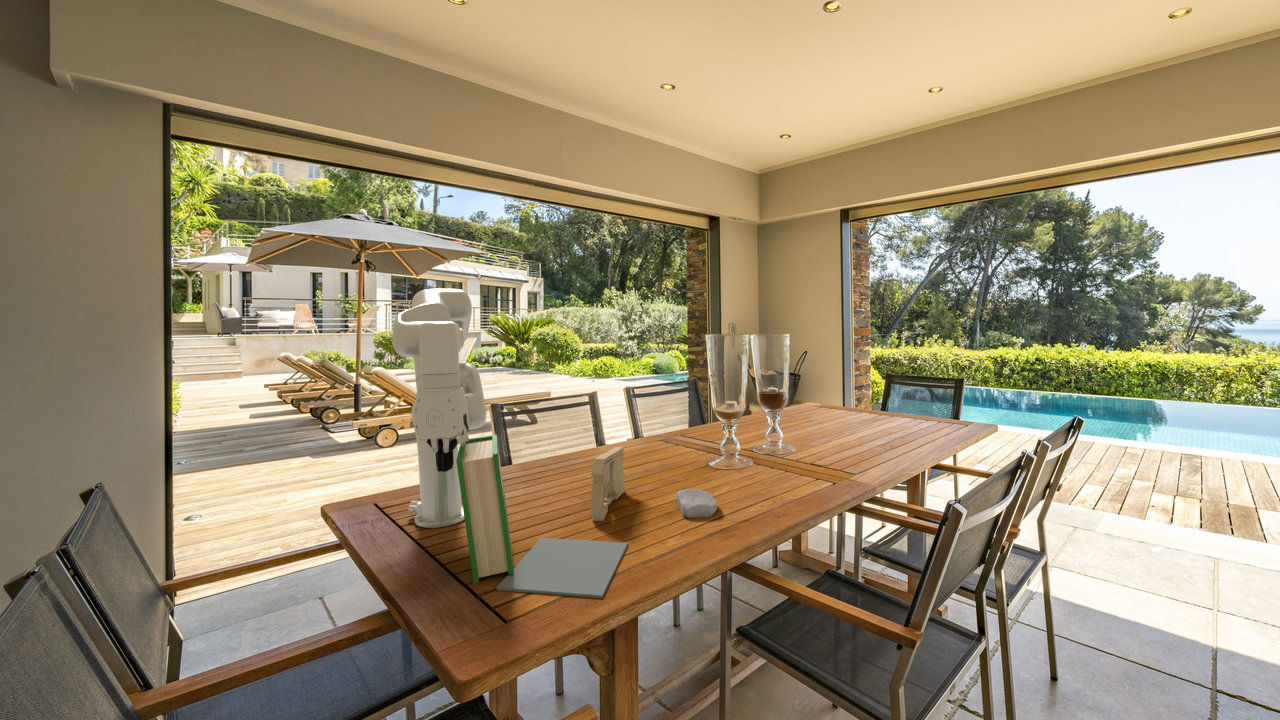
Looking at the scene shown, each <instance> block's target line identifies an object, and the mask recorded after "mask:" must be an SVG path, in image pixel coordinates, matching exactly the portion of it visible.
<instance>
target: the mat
mask: <svg viewBox="0 0 1280 720" xmlns="http://www.w3.org/2000/svg"><path fill="white" fill-rule="evenodd" d="M628 546H629V544H628V542H624V541H623V542H620V541H619V542H618V541H603V540H588V539H587V540H584V539H571V538H570V539H568V538H549V537H547V538H546V537H540V538H539V539H538V541H537V542H536V543H535V544H534V545H533V546H532V547H531V548H530V549H529V550H528V551H527V553H526V554H525V555H524V556H523V557H522V559H521V560H520V561H519V562H518V563H516V565H515V566H514V567H513V571H514V575H511V576H509V573H508V574H507V576H505V577H504V578H503V579H502V581H501V582H500V583H499V584H498V585H497V586H496V590H497V591H506V592H518V593H520V592H521V593H532V594H542V595H543V594H545V595H546V594H547V595H557V596H558V595H559V596H567V597H568V596H569V597H570V596H571V597H583V598H585V597H586V598H594V599H603V598H604V596H605V593H606V591H607V589H608V587H609V585H610V583H611V581H612V578H613V577H614V575H615V572H616V570H617V568H618V566H619V564H620V561H621V560H622V558H623V555H624V554H625V551H626V550H627V548H628Z"/></svg>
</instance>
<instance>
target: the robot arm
mask: <svg viewBox="0 0 1280 720" xmlns="http://www.w3.org/2000/svg"><path fill="white" fill-rule="evenodd" d="M411 300H412V301H411V307H410V308H409V309H406V310H404V311H402V312H400V313H397V315H396V317H395V318H394V321H393V323H392V338H391V339H392V345H393V348H394V351H395V352H396V354H397V355H399V356H400V357H403V358H412V359H413V363H414V375H415V385H416V386H415V387H416V390H417V391H416V396H415V401H414V402H413V404H412V406H411V419H412V423H413V426H414V427H413V428H414V435H415V437H416V447H417V460H418V477H419V478H418V479H419V481H418V482H419V494H420V495H419V496H420V500H411V501H409V506H408V508H407V511H409V512H416V513H417V514H416V515H415V517H414V524H415V525H416V526H417V527H421V528H424V529H425V528H428V529H433V528H434V529H435V528H437V529H438V528H442V527H449V526H452V525H455V524H458V523H461V522H463V521H465V519H464V512H463V506H462V498H461V491H460V484H459V477H458V470H457V463H456V459H457V456H458V452H459V448H458V447H459V446H458V445H460V444H461V443H464V442H466V441H468V440H469V439H470V437H469V431H470V430H477V429H479V428H481V427H483V426H484V425H485V423H486V422H487V421H486V419H487V408H486V401H485V396H484V391H483V386H482V380H481V376H480V372H479V370H478V368H477V367H476V365H474V364H472V363H468V362H460V354H459V353H460V351H461V350H462V349H463V347H464V345H465V342H464V341H465V337H466V336H467V335H468V333H469V329H470V324H471V319H472V312H473V310H472V306H473V305H472V302H471V301H472V300H471V298H470V295H468V293H467V292H466V291H464V290H463V289H458V288H427V289H422V290H420V291H417V292H416V293H415V294H414V296H413V297H412V299H411Z"/></svg>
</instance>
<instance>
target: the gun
mask: <svg viewBox="0 0 1280 720" xmlns="http://www.w3.org/2000/svg"><path fill="white" fill-rule="evenodd" d="M624 450H625V449H624V446H614V447H613V448H611V449H610V450H608V451H606V452H604V453H602V454H600V455H599V456H597V457H595V458H594V459H593V465H592V469H591V474H590V475H591V477H592V484H591V495H590V513H591V519H592V522H604V520H605V518H606V516H607V514H608V511H609V509H608V507H609V505H610V504H612V502H614V501H617V500H618V499H619V498H620V497H621V496H622V495H623V494H624V493H625V491H626V490H625V488H626V487H625V484H624V483H625V482H624V481H625V480H624V477H625V476H624V475H625V471H624V470H623V462H624V457H625V455H624V453H625V452H624Z"/></svg>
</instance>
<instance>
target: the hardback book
mask: <svg viewBox="0 0 1280 720" xmlns="http://www.w3.org/2000/svg"><path fill="white" fill-rule="evenodd" d="M498 441H499V440H498V436H497V434H492V435H491V434H490V435H485V436H478V437H473V438H469V440H468V441H466V442H464V443H460V444H459V448H458V451H459V452H458V456H457V459H456V463H457V470H458V477H459V484H460V491H461V506H462V507H463V512H464V524H465V530H466V531H465V533H466V538H467V539H466V540H467V545H468V546H467V547H468V553H469V558H470V566H471V573H472V581H473V585H475V584H479V583H480V579H481V578H485V577H490V576H493V575H498V574H502V573H506V572H508V574H509V576H511V575H514V571H513V569H514V561H513V551H512V539H511V531H510V525H509V517H508V509H507V502H506V494H505V487H504V479H503V472H502V464H501V457H500V449H499V442H498Z"/></svg>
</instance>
